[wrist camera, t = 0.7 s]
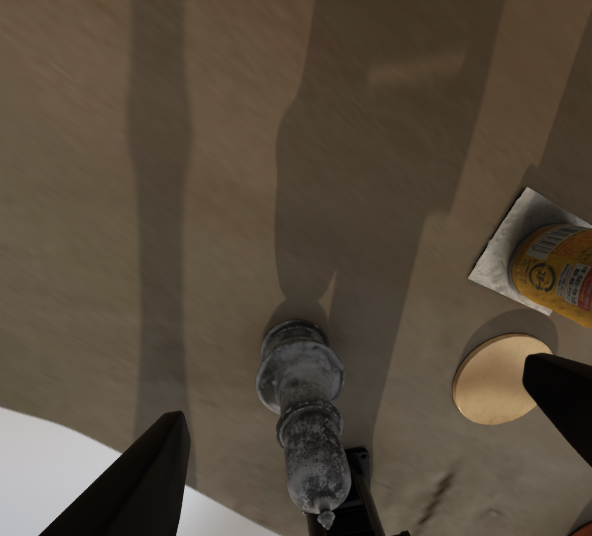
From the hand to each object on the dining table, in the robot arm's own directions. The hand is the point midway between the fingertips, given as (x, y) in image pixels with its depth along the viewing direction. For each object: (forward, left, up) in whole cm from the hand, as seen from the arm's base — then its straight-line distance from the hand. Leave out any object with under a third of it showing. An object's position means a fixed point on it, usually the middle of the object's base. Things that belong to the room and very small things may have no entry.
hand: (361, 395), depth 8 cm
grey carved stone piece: (-7, +1, -14) cm, 16 cm away
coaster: (-13, -16, -14) cm, 25 cm away
